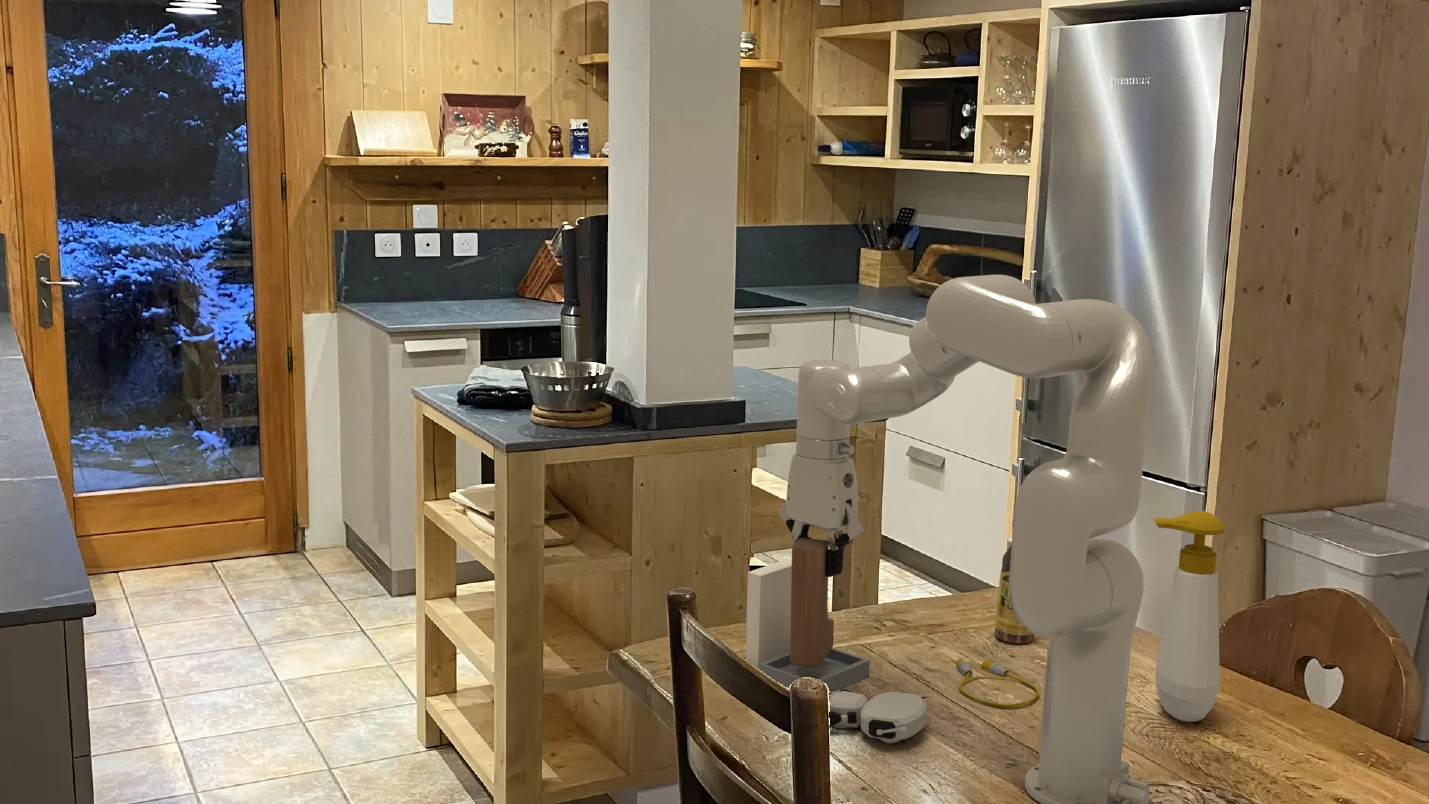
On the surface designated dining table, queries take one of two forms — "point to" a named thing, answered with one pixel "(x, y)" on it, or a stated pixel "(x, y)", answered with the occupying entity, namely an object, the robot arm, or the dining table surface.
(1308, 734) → the dining table surface
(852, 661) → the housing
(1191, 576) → the soap bottle
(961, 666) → the extension cord
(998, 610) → the sauce bottle
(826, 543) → the wooden block
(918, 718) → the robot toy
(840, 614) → the dining table surface
